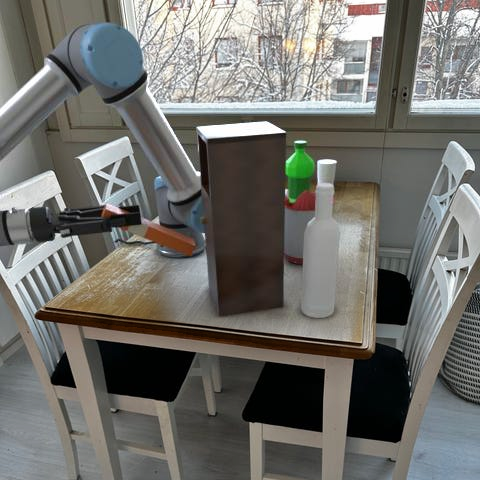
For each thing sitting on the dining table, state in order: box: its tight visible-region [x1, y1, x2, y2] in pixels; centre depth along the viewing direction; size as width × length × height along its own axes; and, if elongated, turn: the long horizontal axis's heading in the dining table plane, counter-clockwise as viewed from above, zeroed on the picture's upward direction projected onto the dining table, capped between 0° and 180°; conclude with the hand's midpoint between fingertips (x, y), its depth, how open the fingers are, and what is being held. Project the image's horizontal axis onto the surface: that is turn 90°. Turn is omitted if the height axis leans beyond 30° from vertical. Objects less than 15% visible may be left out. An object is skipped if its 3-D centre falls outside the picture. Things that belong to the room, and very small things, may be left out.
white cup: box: [316, 158, 338, 186], centre depth 197 cm, size 8×8×10 cm
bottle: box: [300, 183, 341, 319], centre depth 104 cm, size 8×8×30 cm
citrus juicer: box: [284, 190, 336, 265], centre depth 133 cm, size 16×17×20 cm
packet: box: [101, 202, 196, 257], centre depth 108 cm, size 22×5×3 cm, turn 103°
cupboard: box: [196, 121, 287, 317], centre depth 107 cm, size 17×14×40 cm
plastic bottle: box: [286, 140, 316, 203], centre depth 164 cm, size 10×10×25 cm
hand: (140, 214), depth 106 cm, fingers closed on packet, 5 cm apart
